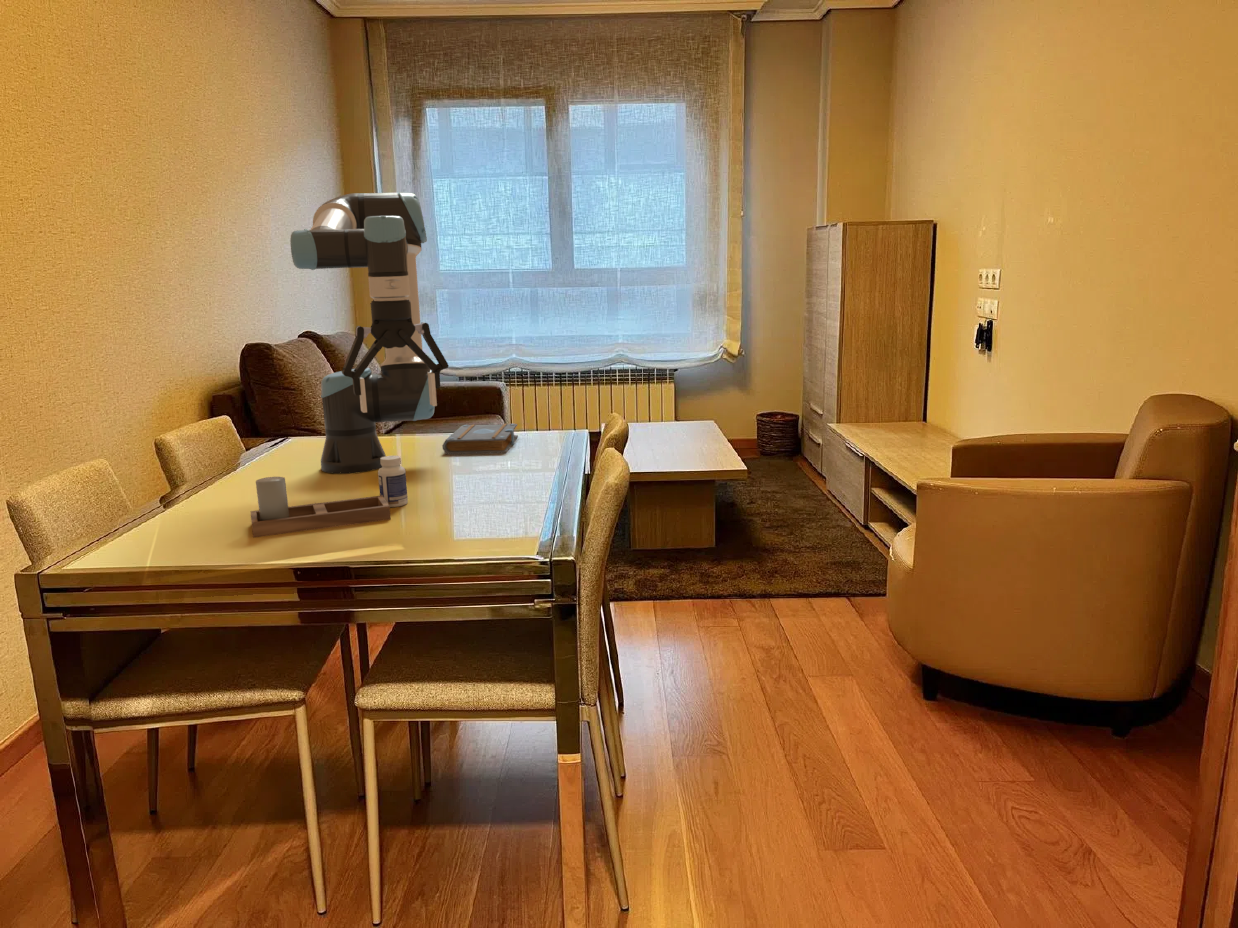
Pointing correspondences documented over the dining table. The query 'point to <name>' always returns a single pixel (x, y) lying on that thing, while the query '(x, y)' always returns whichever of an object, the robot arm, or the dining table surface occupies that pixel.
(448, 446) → the book
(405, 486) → the pill bottle
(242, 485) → the dining table surface
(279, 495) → the grey rounded cylinder
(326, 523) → the rack
